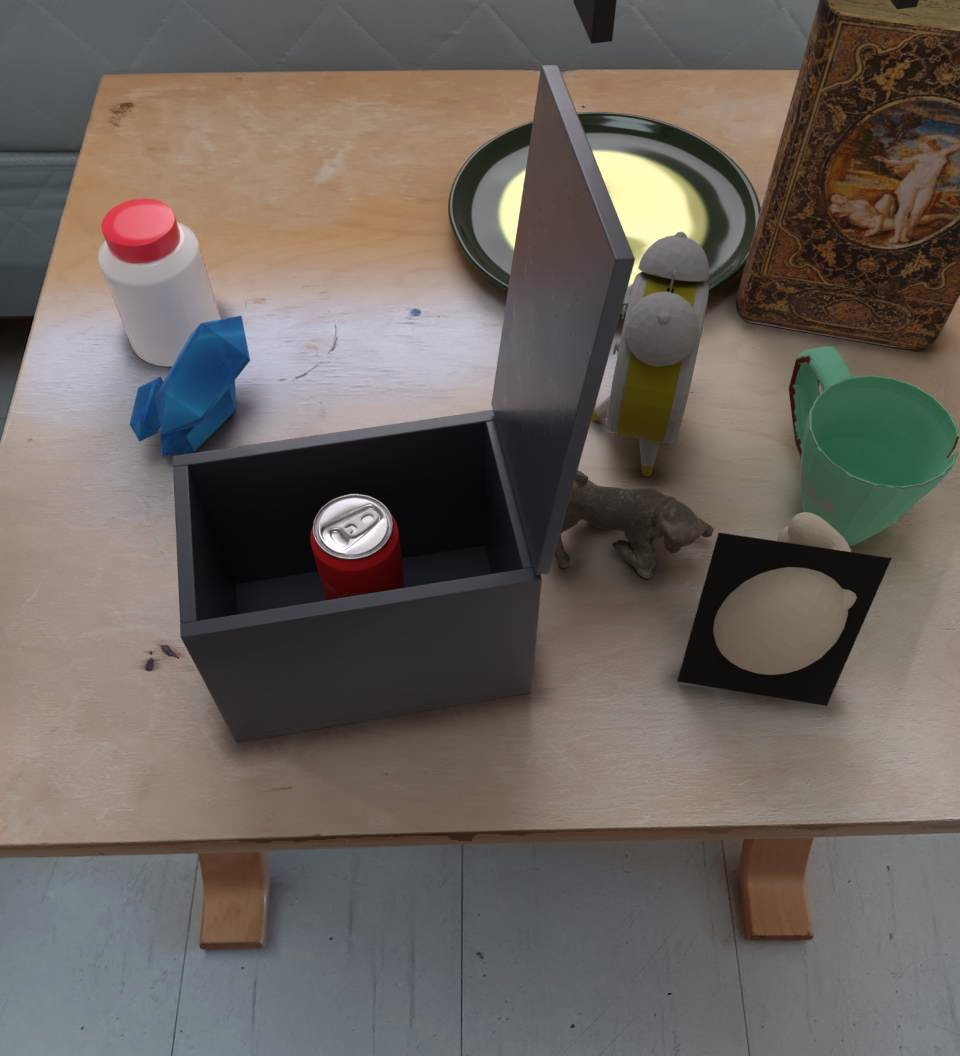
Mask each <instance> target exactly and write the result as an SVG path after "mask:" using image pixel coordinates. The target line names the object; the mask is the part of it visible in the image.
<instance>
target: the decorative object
mask: <svg viewBox="0 0 960 1056" xmlns="http://www.w3.org/2000/svg"><path fill="white" fill-rule="evenodd" d="M714 543H715V544H714V547H713V551H712V554H711V558H710V562H709V565H708V569H707V572H706V576H705V578H704V579H705V580H704V583H703V587H702V591H701V594H700V598H699V601H698V605H697V607H696V609H697V610H696V612H695V615H694V619H693V624H692V627H691V631H690V634H689V637H688V641H687V645H686V649H685V652H684V655H683V659H682V663H681V667H680V670H679V673H678V677H677V681H676V682H677V683H684V684H690V685H696V686H702V687H708V688H715V689H720V690H727V691H732V692H733V691H734V692H738V693H745V694H752V695H758V696H764V697H770V698H776V699H782V700H788V701H789V700H790V701H795V702H801V703H807V704H813V705H820V706H826V707H827V706H828V704H829V702H830V699H831V697H832V695H833V694H834V690H835V688H836V686H837V684H838V681H839V679H840V677H841V674H842V672H843V670H844V668H845V665H846V664H847V660H848V658H849V656H850V654H851V652H852V650H853V648H854V645H855V643H856V641H857V638H858V636H859V634H860V631H861V629H862V627H863V624H864V622H865V620H866V618H867V615H868V614H869V611H870V609H871V607H872V604H873V602H874V600H875V597H876V595H877V594H878V590H879V588H880V586H881V583H882V581H883V580H884V577H885V575H886V573H887V570H888V568H889V566H890V564H891V561H892V557H888V556H887V557H886V556H880V555H875V554H874V555H873V554H867V553H862V552H861V553H860V552H854V551H852V549H851V546H849V545H848V543H847V542H846V540H845V539H844V538H843V537H842V536H841V535H840V534H839V533H838V532H837V531H836V530H835V529H834V528H833V527H832V526H831V525H830V524H828V523H827V522H826V521H825V520H823V519H822V518H821V517H819V516H817V515H815V514H813V513H808V512H803V511H802V512H800V513H797V514H795V515H794V516H793V517H792V518H791V519H790V521H789V523H788V525H787V526H785V527H783V528H782V529H781V530H780V532H779V533H778V536H777V540H773V539H766V538H759V537H752V536H745V535H740V534H739V535H738V534H732V533H725V532H718V533H717V536H716V539H715V542H714Z"/></svg>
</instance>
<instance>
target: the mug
mask: <svg viewBox="0 0 960 1056" xmlns="http://www.w3.org/2000/svg"><path fill="white" fill-rule="evenodd" d="M820 387H821V389H822V391H821V392H820ZM788 395H789V397H788V398H789V405H790V413H791V420H792V430H793V437H794V439H793V440H794V443H795V446H796V449H797V452H798V455H799V458H800V461H801V462H800V491H801V492H800V493H801V495H800V496H801V497H800V498H801V499H800V500H801V506H802V512H808V513H813V514H815V515H817V516H819V517H821V518H822V519H823V520H825V521H826V522H827V523H828V524H830V525H831V526H832V527H833V528H834V529H835V530H836V531H837V532H838V533H839V534H840V535H841V536H842V537H843V538H844V539H845V540H846V542H847V543H848V545H849V547H854V546H856V545H859V544H860V543H862V542H864V541H866V540H868V539H870V538H871V537H872V538H873V536H876V535H877V534H879V533H881V532H883V531H884V530H886V528H888V527H890V526H891V525H893V524H894V523H895V522H897V521H898V520H900V519H901V518H902V517H903V516H904V515H905V514H906V513H907V512H908V511H909V510H910V509H911V508H912V507H913V506H915V505H916V504H917V503H918V502H919V501H920V500H921V499H922V498H924V497H925V496H926V495H927V494H929V493H930V492H931V491H932V490H933V489H935V487H936V486H937V485H938V484H939V483H940V482H941V481H942V480H944V478H945V477H946V476H947V475H948V474H949V473H950V472H951V470H952V469H953V467H954V466H955V464H956V461H957V457H958V454H959V453H958V451H955V452H954V450H956V448H957V445H958V441H959V438H960V432H959V428H958V426H957V424H956V422H955V420H954V418H953V416H952V415H951V413H950V411H949V410H948V409H947V408H946V407H944V405H943V404H942V403H940V401H939V400H938V399H937V398H936V397H935V396H933V395H931V394H930V393H929V392H926V391H925V390H924V389H922V388H921V387H918V386H917V385H915V384H913V383H909V382H906V381H904V380H901V379H897V378H895V377H890V376H889V377H888V376H879V375H871V374H868V375H867V374H866V375H860V376H853V374H852V372H851V371H850V369H849V366H848V364H847V363H846V360H844V358H843V357H842V355H841V354H840V352H839V351H838V350H837V348H836V347H835V346H832V345H829V346H828V345H826V346H820V347H813V348H807V349H805V350H804V351H801V352H800V353H799V354H798V356H797V357H796V359H795V362H794V365H793V370H792V374H791V377H790V381H789V385H788ZM953 452H954V453H953Z"/></svg>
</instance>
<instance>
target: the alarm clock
mask: <svg viewBox="0 0 960 1056" xmlns="http://www.w3.org/2000/svg"><path fill="white" fill-rule="evenodd" d="M639 270H641V271H643V272H640V273H638V274H637V275H636V277H635V279H634V282H633V284H632V286H631V290H630V298H629V302H628V307H627V310H625V309H626V306H625V305H624V307H623V311H622V317H620V319H621V320H624V321H623V325H622V330H621V335H620V339H619V340H615V341H614V345H613V350H612V355H616V354H617V355H616V361H615V365H614V366H615V367H614V372H613V377H612V382H611V389H610V394H609V396H608V397H607V398H606V399H604V401H603V402H602V403H601V404H599V406H598V407H595V408H594V412H593V415H592V419H591V421H593V422H595V421H599V420H603V419H605V418H606V420H605V426H606V427H605V428H606V429H607V430H608V431H609V432H610V433H612V434H616V435H617V436H620V437H626V438H630V439H631V438H632V439H637V440H638V442H639V454H640V466H641V475H642V476H645V477H649V476H651V475H652V473H653V469H654V466H655V462H656V459H657V455H658V452H659V448H660V445H661V444H663V443H667V444H670V443H673V442H675V441H676V439H677V437H678V435H679V433H680V429H681V426H682V422H683V417H684V415H685V410H686V406H687V401H688V397H689V393H690V389H691V384H692V380H693V375H694V371H695V366H696V363H697V361H696V360H697V356H698V354H699V353H698V352H699V347H700V343H701V338H702V333H703V328H704V323H705V317H706V312H707V307H708V301H709V295H710V294H709V286H708V285H707V284H706V282H705V281H706V280H708V277H709V263H708V260H707V256H706V254H705V252H704V250H703V249H702V248H701V246H700V245H699V244H698V243H697V242H695V241H694V240H692V239H690V238H688V237H687V236H686V234H685V233H684V232H677V233H676V235H673V236H667V237H664V238H662V239H659V240H657V241H656V242H655V243H653V244H652V245H651V246H650V247H649V248H648V249H647V251H646V252H645V253H644V255H643V257H642V259H641V261H640V264H639ZM708 294H709V295H708ZM624 315H626V316H625V317H624ZM616 352H617V353H616Z"/></svg>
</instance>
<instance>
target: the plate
mask: <svg viewBox="0 0 960 1056" xmlns="http://www.w3.org/2000/svg"><path fill="white" fill-rule="evenodd" d="M577 114H578V117H579V119H580V122H581V124H582V127H583V129H584V132H585V134H586V137H587V139H588V142H589V144H590V147H591V149H592V152H593V155H594V157H595V160H596V162H597V165H598V167H599V170H600V172H601V175H602V177H603V180H604V182H605V185H606V187H607V190H608V192H609V195H610V197H611V200H612V202H613V205H614V208H615V210H616V213H617V215H618V218H619V220H620V223H621V225H622V228H623V230H624V233H625V235H626V238H627V240H628V243H629V245H630V248H631V250H632V253H633V256H634V258H635V262H634V265H633V269H632V273H631V276H630V280H629V284H628V287H627V291H626V295H625V298H624V302H623V306H622V309H621V313H620V317H619V318H621V317H622V311H623V307H624V305H625V306H626V309H625V310H627V307H628V302H629V298H630V290H631V286H632V284H633V282H634V279H635V277H636V275H637V274H638V273H640V272H643V271H641V270H639V264H640V261H641V259H642V257H643V255H644V253H645V252H646V251H647V249H648V248H649V247H650V246H651V245H652V244H653V243H655V242H656V241H657V240H659V239H662V238H664V237H667V236H673V235H676V233H677V232H684V233H685V234H686V236H687V237H688V238H690V239H692V240H694V241H695V242H697V243H698V244H699V245H700V246H701V248H702V249H703V250H704V252H705V254H706V256H707V260H708V263H709V277H708V280H706V281H705V282H706V284H707V285H708V286H709V294H708V296H709V295H711V294H712V293H714V292H715V291H718V290H719V289H720V288H722V287H723V286H725V285H726V284H728V283H729V282H730V281H731V280H733V279H734V278H735V277H736V276H737V275H739V273H740V272H742V271H743V270H744V268H745V265H746V261H747V257H748V254H749V250H750V247H751V243H752V239H753V236H754V232H755V229H756V225H757V222H758V218H759V214H760V211H761V207H762V206H761V203H760V200H759V197H758V194H757V192H756V190H755V188H754V186H753V184H752V181H751V180H750V178H749V177H748V175H747V174H746V173H745V171H743V169H742V168H741V167H740V166H739V165H738V164H737V163H736V162H735V160H733V158H731V157H730V156H729V155H728V154H727V153H725V152H724V151H723V150H721V149H720V148H718V147H717V146H716V145H714V144H713V143H711V142H710V141H708V140H707V139H705V138H703V137H701V136H699V135H697V134H695V133H694V132H692V131H690V130H687V129H685V128H682V127H680V126H677V125H675V124H672V123H669V122H665V121H663V120H659V119H655V118H651V117H646V116H641V115H636V114H629V113H622V112H610V111H581V112H577ZM532 125H533V120H530V121H528V122H525V123H522V124H519V125H516V126H514V127H512V128H510V129H507V130H506V131H503V132H502V133H499V134H498V135H496V136H494V137H492V138H491V139H489V140H488V141H486V142H485V143H483V144H482V145H481V146H480V147H478V148H477V149H476V150H475V151H474V152H473V153H472V154H470V156H469V157H468V158H467V160H466V161H465V162H464V163H463V164H462V166H461V168H460V169H459V171H458V173H456V176H455V178H454V180H453V182H452V185H451V188H450V191H449V196H448V203H447V212H448V213H447V214H448V220H449V224H450V227H451V230H452V233H453V235H454V238H455V240H456V241H457V244H458V246H459V247H460V250H461V251H462V253H463V254H464V256H465V257H466V259H467V260H468V261H469V262H470V263H471V265H473V267H474V268H475V269H476V270H477V271H478V272H480V274H482V275H483V276H484V277H485V278H487V279H488V280H489V281H491V282H493V283H494V284H495V285H496V286H497V287H499V288H501V289H503V290H504V291H506V292H508V287H509V280H510V274H511V267H512V260H513V253H514V246H515V240H516V233H517V226H518V219H519V213H520V206H521V199H522V192H523V186H524V179H525V172H526V165H527V158H528V152H529V145H530V138H531V131H532ZM625 316H626V315H624V318H625Z"/></svg>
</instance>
